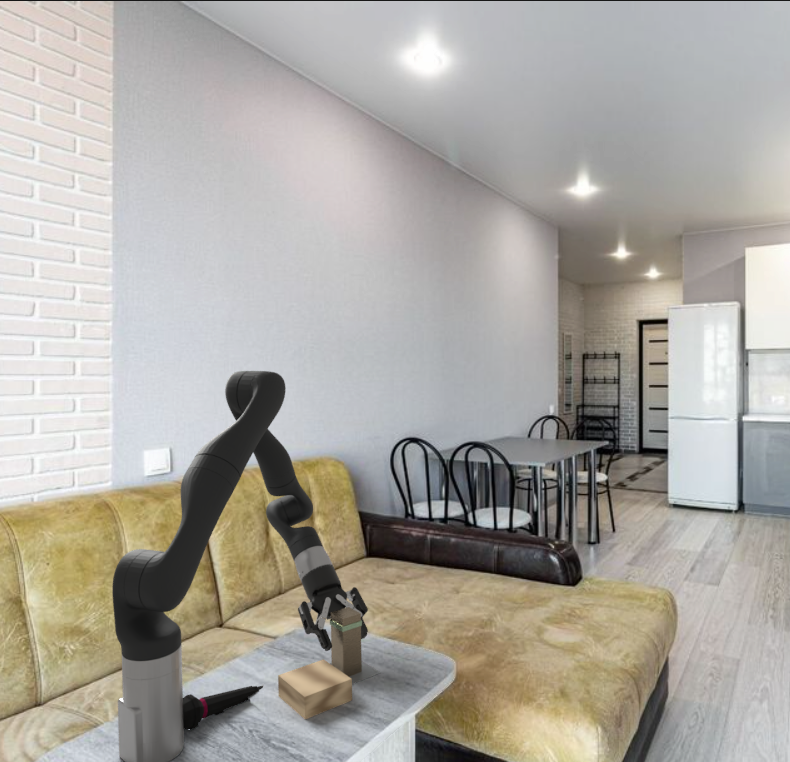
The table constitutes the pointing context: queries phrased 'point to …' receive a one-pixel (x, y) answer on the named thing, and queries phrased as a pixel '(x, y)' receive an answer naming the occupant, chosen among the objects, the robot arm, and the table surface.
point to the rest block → (314, 688)
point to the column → (346, 641)
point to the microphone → (213, 704)
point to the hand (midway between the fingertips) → (347, 643)
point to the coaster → (364, 673)
